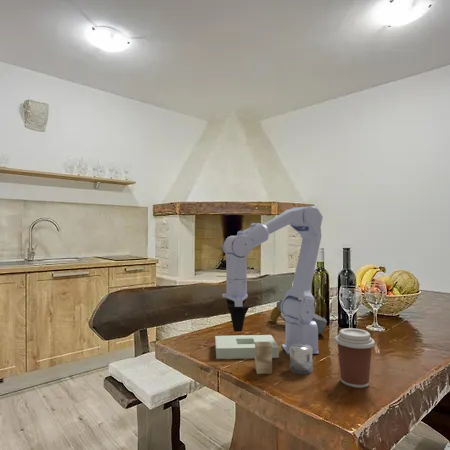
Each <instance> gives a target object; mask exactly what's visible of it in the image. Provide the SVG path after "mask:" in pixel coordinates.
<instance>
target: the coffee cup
mask: <svg viewBox="0 0 450 450" xmlns="http://www.w3.org/2000/svg"><path fill="white" fill-rule="evenodd" d="M334 341H335V343H336V344H337V349H338V360H339V361H338V362H339V371H340V381H341V383H342V384H343V385H345V386H348V387H349V388H350V387H352V388H358V389H359V388H360V389H362V388H366V387H368V386H369V385H370V374H371V363H372V349H373V347H375V345H376V342H375V340H374V338H373V337H371V333H370V332H368V330H364V329H360V328H350V327H348V328H341V329H340V330H339V331H338V334H337V335H335V337H334Z"/></svg>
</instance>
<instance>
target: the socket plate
mask: <svg viewBox="0 0 450 450" xmlns="http://www.w3.org/2000/svg"><path fill="white" fill-rule="evenodd" d="M214 337H215V338H214V339H215V340H214V341H215V342H214V343H215V345H214V346H215V356H216V357H215V359H216V360H233V359H235V360H237V359H255V342H270V344H271V345H272V359H276V358H280V346H279V345H278V343H277V341H276V340H275V339H274V337H273V336H272V334H255V335H254V334H252V335H251V334H248V335H247V334H246V335H245V334H244V335H215V336H214Z"/></svg>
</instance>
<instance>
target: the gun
mask: <svg viewBox="0 0 450 450" xmlns="http://www.w3.org/2000/svg"><path fill="white" fill-rule="evenodd" d="M283 299H284V298H281V299H280V300H279V301H277V302H276V306H275V307H274V308H273V310H272V311H271V312H270V315H269V316H270V320H271V322H272V323H276V322H277V321H278V320H279V317H280V319H282V320H283V321H284V322H285V321H286V320H285V319H284V316H283V315H282V312H281V303H282V301H283ZM311 321H315V322H316V324H317V328H318V335H321V334H324V333H325V331H326V326H327V323H328V321H327V319H326V318H324V317H322V316H320V315H318V314H317V313H315V314H314V317H313V319H312V320H311Z"/></svg>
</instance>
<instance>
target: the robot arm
mask: <svg viewBox="0 0 450 450" xmlns="http://www.w3.org/2000/svg"><path fill="white" fill-rule="evenodd" d="M323 217H324V216H323V215H322V213H321V211H320V209H319V208H318V207H317V206H315V205H309V206H308V205H307V206H302V207H297V206H295V207H291V208H289V209H286V210H284V211H283V212H282V213H279V214H278V215H277V216H275V217H273V218H271V219H270V220H268V221H267V222H265V223H264V224H262V223H260V222H257V223H256V222H253V223H251V224H250V227H247V228H246V229H244V230H239V231H237V234H236V235H230V236H227V238H225V240H224V242H223V244H222V247H221V248H222V250H223V253H224V254H225V258H226V259H225V261H226V263H225V264H226V271H225V272H226V274H225V275H226V282H225V283H226V293H222V294H221V295H222V298H225V301H226V304H227V310H228V312H229V313H230V320H231V323H232V327H233V332H234V333H235V332H236V333H237V332H242V331H243V328H244V322H245V318H246V314H247V312H248V310H249V307H250V306H249V305H244V304H245V302H246V299H247V298H248V296H249V294H248V276H247V275H248V267H247V266H248V265H247V264H248V260H247V256H248V255H249V254H250V252H251V251H252V250H253V249H254V248H256V247H258V246H260V245H261V244H263V243H264V242H267V241H269V237H270V234H273V233H275V232H277V231H280V229H283V228H284V227H287V226H290V227H291V228H292V229H293V230H294V231H296V232H297V233H298V234H299V235H300V237H301V240H302V241H301V244H300V249H299V253H298V254H299V255H298V258H297V264H296V268H295V273H294V277H293V282H292V287H291V288H290V289H288V290H287V291H286V292H285V295H284V298H282V299H283V301H282V303H281V312H282V313H281V315H282V316H283V317H284V319H285V320H286V321H284V322H285V343H283V344H281V347H282V348H283V350H284V351H285V353H286V354H287V355H290V345H292V344H307V345H310V346H311V347H312V355H315V354H317V355H318V354H320V352H319V334H318V328H317V324H316V322H315V321H311V320H312V319H313V317H314V314H316V307H315V303H316V302H315V301H316V299H315V297H314V295H313V294H312V292H311V288H312V283H313V280H314V274H315V269H316V263H317V259H318V254H319V249H320V245H321V240H322V229H321V228H322V222H323Z"/></svg>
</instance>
